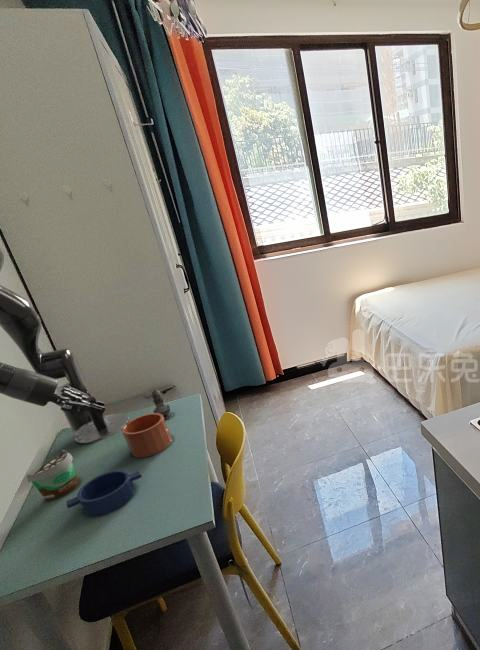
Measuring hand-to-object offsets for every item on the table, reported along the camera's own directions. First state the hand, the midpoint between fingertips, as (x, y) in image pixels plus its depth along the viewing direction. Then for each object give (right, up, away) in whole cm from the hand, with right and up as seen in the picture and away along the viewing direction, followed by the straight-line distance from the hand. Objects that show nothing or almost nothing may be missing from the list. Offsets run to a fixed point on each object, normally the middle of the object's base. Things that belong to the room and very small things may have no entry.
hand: (103, 408), depth 124 cm
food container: (-15, -25, +7) cm, 30 cm away
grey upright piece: (-4, -8, +41) cm, 42 cm away
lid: (-1, -6, +1) cm, 6 cm away
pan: (+2, -26, +1) cm, 26 cm away
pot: (+1, -15, +24) cm, 28 cm away
